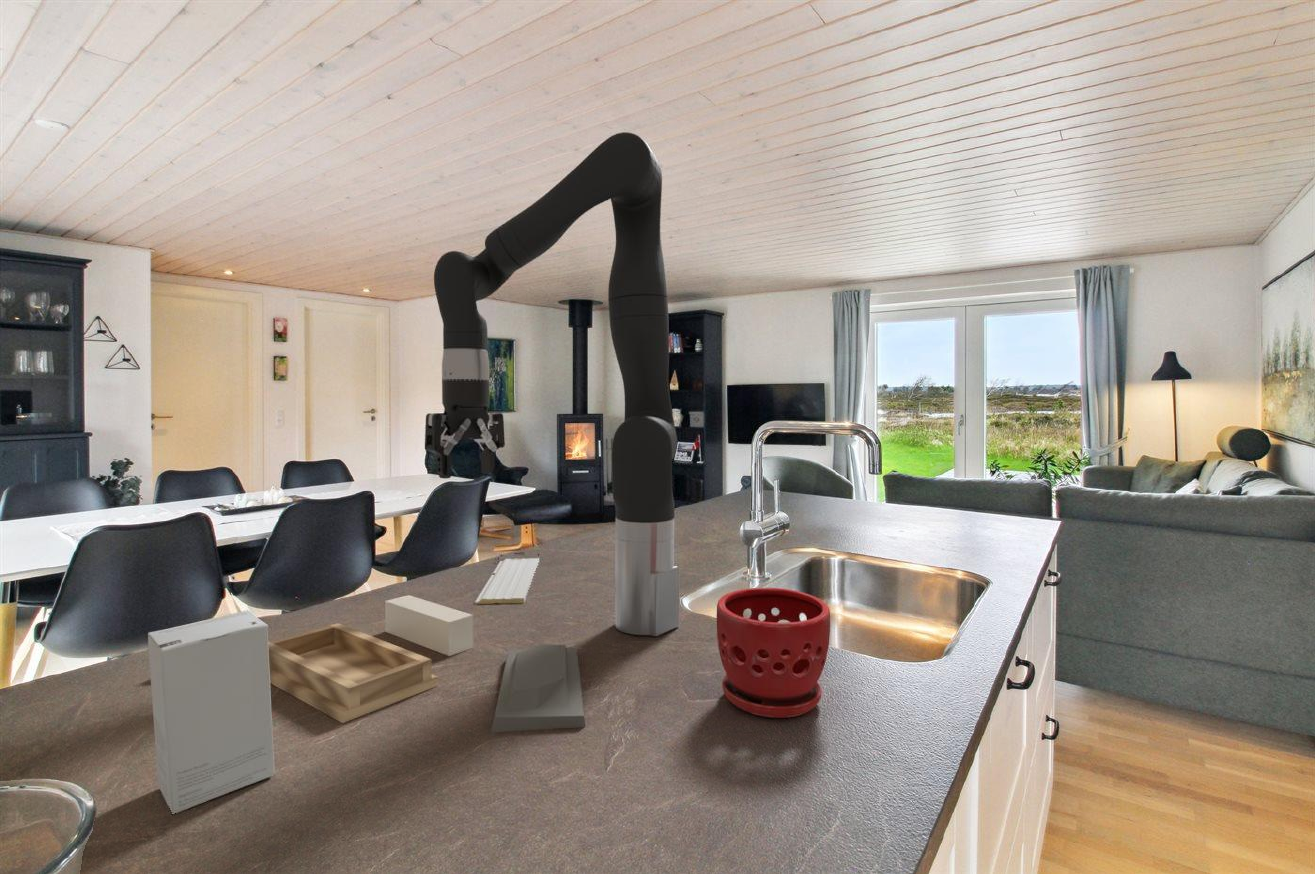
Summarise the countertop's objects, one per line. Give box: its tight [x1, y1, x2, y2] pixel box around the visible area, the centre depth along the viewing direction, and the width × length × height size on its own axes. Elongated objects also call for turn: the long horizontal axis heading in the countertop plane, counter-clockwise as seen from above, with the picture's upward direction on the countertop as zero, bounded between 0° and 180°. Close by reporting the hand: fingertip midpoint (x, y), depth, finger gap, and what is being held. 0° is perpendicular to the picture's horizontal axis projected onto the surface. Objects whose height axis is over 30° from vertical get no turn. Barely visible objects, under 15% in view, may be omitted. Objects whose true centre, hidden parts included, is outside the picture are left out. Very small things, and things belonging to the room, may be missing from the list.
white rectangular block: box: [384, 594, 474, 657], centre depth 98 cm, size 16×4×5 cm, turn 53°
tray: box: [268, 622, 438, 724], centre depth 83 cm, size 22×12×4 cm, turn 54°
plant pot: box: [716, 587, 831, 719], centre depth 78 cm, size 13×13×12 cm
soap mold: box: [490, 643, 586, 733], centre depth 81 cm, size 10×20×4 cm, turn 8°
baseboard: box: [474, 551, 540, 605], centre depth 130 cm, size 30×3×10 cm
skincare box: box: [147, 609, 275, 815], centre depth 60 cm, size 8×6×15 cm
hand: (466, 475), depth 109 cm, fingers open, 8 cm apart
